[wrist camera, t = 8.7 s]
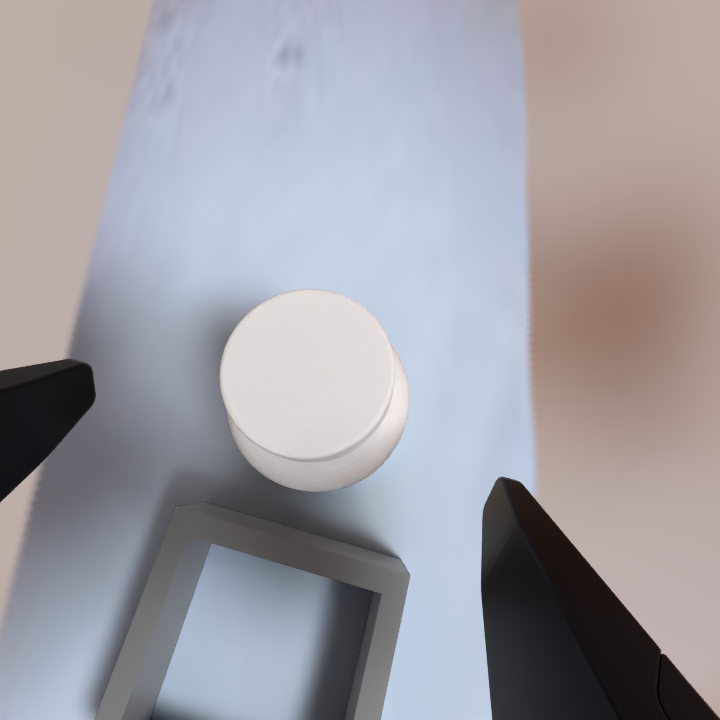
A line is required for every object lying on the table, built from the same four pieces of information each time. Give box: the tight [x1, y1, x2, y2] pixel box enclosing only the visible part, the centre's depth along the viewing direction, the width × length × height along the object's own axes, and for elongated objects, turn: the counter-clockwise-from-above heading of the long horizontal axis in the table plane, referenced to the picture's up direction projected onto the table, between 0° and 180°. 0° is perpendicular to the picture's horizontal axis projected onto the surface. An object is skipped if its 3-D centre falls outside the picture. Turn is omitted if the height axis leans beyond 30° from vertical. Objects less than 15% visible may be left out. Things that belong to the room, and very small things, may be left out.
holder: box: [95, 502, 410, 720], centre depth 14 cm, size 9×9×3 cm
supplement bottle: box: [220, 289, 410, 492], centre depth 14 cm, size 5×5×10 cm
